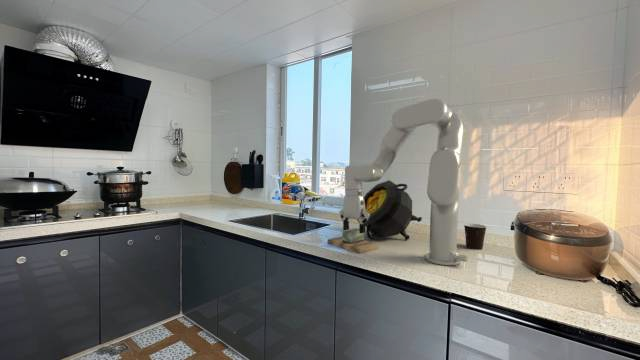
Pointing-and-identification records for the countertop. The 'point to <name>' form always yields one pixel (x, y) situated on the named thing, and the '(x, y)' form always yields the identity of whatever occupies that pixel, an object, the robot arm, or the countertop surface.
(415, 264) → the countertop surface
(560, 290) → the countertop surface
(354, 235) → the sanding block
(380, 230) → the black cauldron
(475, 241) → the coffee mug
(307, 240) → the countertop surface
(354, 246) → the oak board
